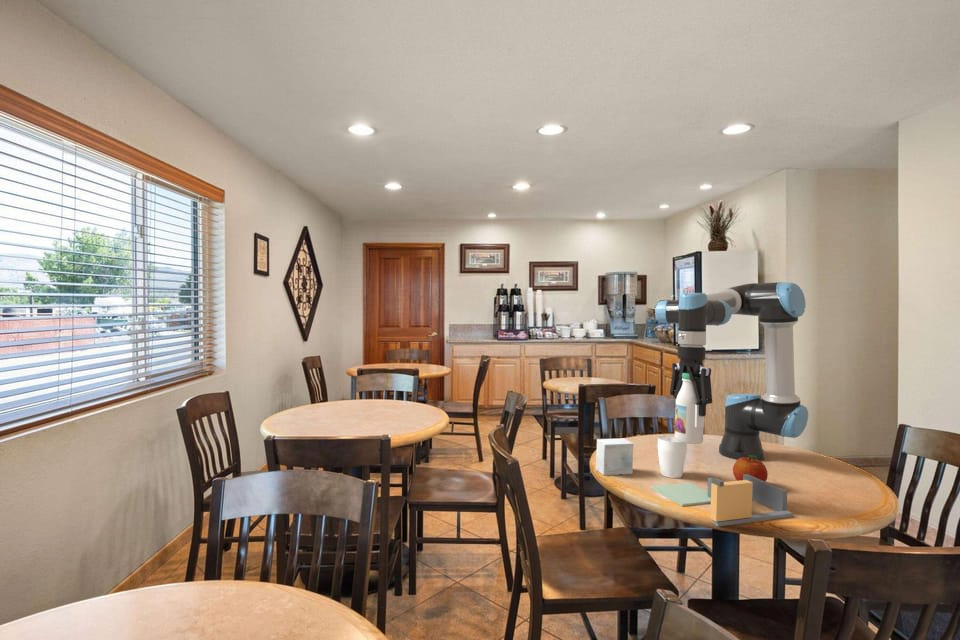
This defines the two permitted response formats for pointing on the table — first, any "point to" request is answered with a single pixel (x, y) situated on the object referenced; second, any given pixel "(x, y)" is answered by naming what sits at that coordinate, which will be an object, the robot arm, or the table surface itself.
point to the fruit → (749, 468)
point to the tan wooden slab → (730, 500)
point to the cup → (671, 456)
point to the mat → (684, 493)
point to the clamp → (763, 495)
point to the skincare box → (614, 456)
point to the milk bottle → (687, 414)
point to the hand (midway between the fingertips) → (689, 423)
